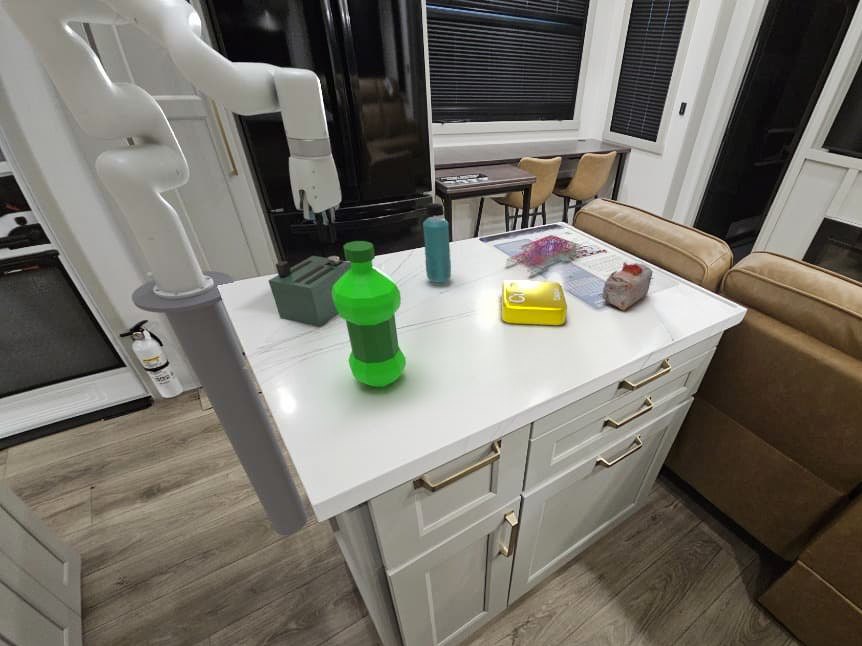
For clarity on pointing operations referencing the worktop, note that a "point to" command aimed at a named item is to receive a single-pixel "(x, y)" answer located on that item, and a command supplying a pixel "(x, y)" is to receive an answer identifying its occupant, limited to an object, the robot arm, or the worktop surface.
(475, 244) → the worktop surface
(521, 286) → the element tile
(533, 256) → the purple mottled irregular slab
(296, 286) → the toaster
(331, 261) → the button
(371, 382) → the plastic bottle
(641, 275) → the food item
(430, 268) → the beverage bottle
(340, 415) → the worktop surface
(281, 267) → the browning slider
